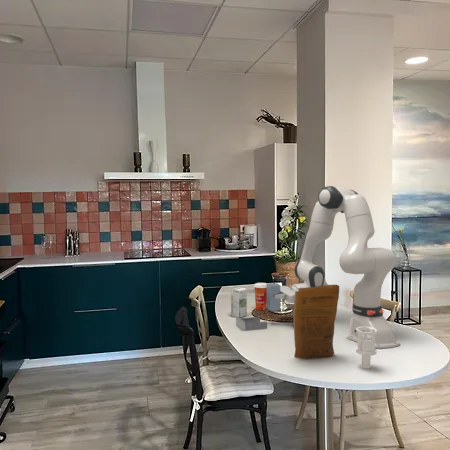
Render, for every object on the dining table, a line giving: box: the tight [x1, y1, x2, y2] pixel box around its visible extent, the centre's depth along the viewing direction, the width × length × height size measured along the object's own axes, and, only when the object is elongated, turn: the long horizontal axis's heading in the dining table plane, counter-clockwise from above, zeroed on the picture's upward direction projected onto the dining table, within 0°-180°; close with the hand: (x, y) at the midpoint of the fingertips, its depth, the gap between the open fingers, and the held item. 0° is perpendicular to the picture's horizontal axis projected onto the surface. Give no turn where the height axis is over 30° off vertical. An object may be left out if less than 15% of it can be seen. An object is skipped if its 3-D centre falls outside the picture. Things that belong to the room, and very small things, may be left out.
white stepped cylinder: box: [355, 327, 377, 370], centre depth 158 cm, size 7×7×15 cm
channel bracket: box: [235, 316, 268, 332], centre depth 208 cm, size 12×10×4 cm
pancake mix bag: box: [292, 284, 340, 360], centre depth 168 cm, size 7×19×28 cm, turn 101°
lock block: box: [266, 282, 281, 312], centre depth 211 cm, size 5×6×12 cm
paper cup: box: [253, 282, 268, 311], centre depth 239 cm, size 8×8×14 cm
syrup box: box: [230, 286, 248, 318], centre depth 226 cm, size 6×6×14 cm
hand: (271, 294), depth 211 cm, fingers closed on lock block, 5 cm apart
